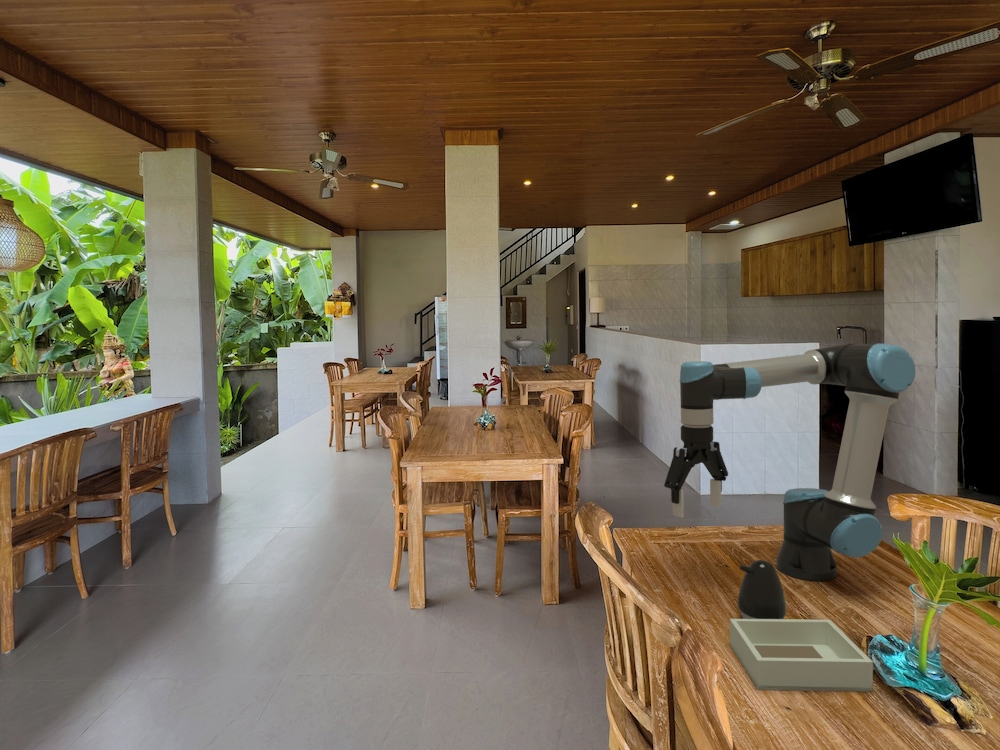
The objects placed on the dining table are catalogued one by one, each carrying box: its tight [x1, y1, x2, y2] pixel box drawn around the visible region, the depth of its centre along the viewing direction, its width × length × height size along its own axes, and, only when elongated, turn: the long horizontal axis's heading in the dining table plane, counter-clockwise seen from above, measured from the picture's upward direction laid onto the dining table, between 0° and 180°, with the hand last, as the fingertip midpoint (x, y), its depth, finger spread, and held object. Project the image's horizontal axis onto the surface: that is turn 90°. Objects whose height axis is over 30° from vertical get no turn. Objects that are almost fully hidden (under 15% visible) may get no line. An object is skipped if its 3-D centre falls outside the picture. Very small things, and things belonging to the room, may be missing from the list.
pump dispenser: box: [737, 559, 787, 619], centre depth 133 cm, size 10×10×15 cm
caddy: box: [729, 618, 874, 693], centre depth 117 cm, size 21×16×6 cm
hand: (697, 510), depth 142 cm, fingers open, 13 cm apart
